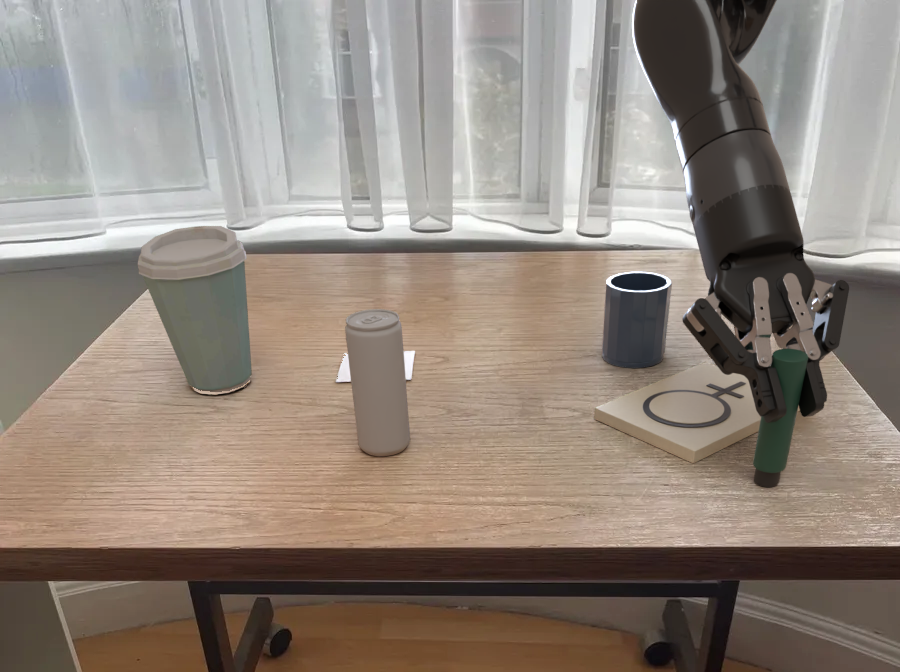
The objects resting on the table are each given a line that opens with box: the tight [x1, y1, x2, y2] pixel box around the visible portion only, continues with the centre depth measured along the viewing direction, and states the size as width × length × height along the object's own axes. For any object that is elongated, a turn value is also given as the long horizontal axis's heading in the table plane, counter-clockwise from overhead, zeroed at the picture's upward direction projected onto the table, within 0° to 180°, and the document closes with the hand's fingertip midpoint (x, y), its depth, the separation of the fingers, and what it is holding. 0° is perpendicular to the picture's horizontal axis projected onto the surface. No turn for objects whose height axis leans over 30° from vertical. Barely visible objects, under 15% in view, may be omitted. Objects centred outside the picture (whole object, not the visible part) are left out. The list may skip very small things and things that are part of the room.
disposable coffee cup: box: [137, 225, 253, 392], centre depth 91 cm, size 11×11×15 cm
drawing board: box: [593, 361, 800, 464], centre depth 85 cm, size 16×12×1 cm
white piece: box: [335, 350, 416, 383], centre depth 98 cm, size 8×8×1 cm
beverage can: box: [344, 308, 411, 457], centre depth 79 cm, size 5×5×12 cm
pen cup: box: [601, 271, 673, 369], centre depth 95 cm, size 7×7×8 cm
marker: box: [752, 348, 808, 488], centre depth 72 cm, size 3×3×11 cm
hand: (795, 415), depth 69 cm, fingers closed on marker, 2 cm apart
